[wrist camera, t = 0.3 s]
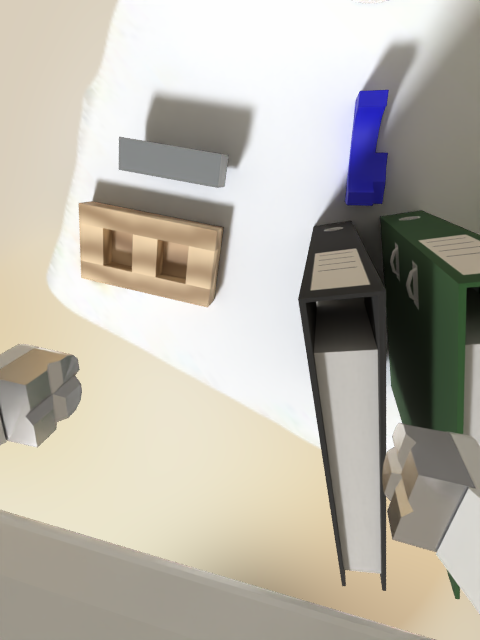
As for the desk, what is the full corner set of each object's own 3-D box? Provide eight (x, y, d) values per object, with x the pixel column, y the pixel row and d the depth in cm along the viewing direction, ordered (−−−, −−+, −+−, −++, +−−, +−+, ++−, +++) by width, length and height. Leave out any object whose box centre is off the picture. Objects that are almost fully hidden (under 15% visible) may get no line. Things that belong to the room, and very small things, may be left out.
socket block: (92, 201, 57) (78, 203, 54) (223, 227, 54) (217, 230, 51) (93, 272, 62) (81, 278, 59) (214, 300, 59) (207, 307, 56)
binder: (420, 385, 57) (518, 605, 28) (325, 387, 61) (325, 583, 32) (421, 210, 47) (569, 273, 19) (309, 227, 51) (287, 300, 23)
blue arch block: (379, 201, 48) (385, 205, 43) (344, 201, 49) (347, 205, 44) (393, 99, 44) (403, 89, 38) (355, 100, 44) (359, 91, 39)
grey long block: (140, 140, 52) (119, 136, 46) (233, 155, 50) (221, 154, 44) (139, 169, 53) (118, 169, 48) (229, 185, 52) (217, 187, 46)
